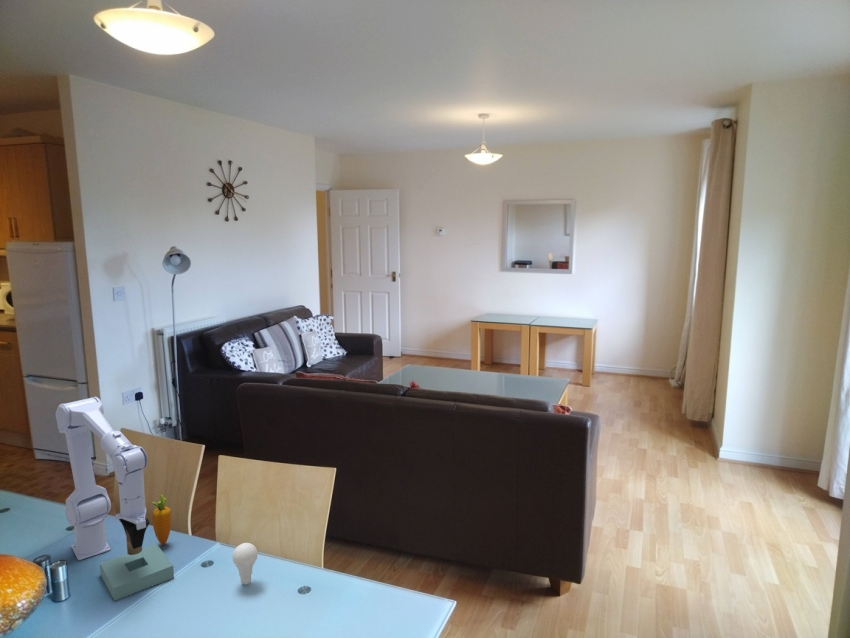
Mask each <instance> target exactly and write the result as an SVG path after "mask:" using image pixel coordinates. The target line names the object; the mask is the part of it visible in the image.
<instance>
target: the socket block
mask: <svg viewBox="0 0 850 638" xmlns="http://www.w3.org/2000/svg"><path fill="white" fill-rule="evenodd" d="M99 570H100V571H99V572H100V573H99V575H100V577H101V578H102V580H103V582H104V584H105V586H106V588H107V590H108V592H109V593H111V594H110V595H111V597H112V599H113V601H114V602H115V600H116V601H118V600H121V599H124V598H126V597H128V595H129V596H132V595H133V593H134V594H136V593H139V592H141V591H144V590H146V589H145V588H147V587H149V588H151V587H150V586H152V585H154V586H156V585H155V584H157V585H159V584H161V583H164V581H165V582H167V581H169V580H172V579H175V577H174V576H175V573H174V571H175V569H174V565H173V563H172V562H171V561H170V559H169V558H168V557H167V555H166V554H165V552H164V551H163V550H162V549H161V548H160V546H159V545H158V544H157V543H155V544H151V545H148V546H145V547H142V551H141V552H140V553H138V554H135V555H129V554H128V553H125V554H122V555H118V556H117V557H116V556H115V557H113V558H110V559H107V560H105V561H102V562H99ZM152 587H153V586H152ZM143 589H144V590H143ZM147 589H148V588H147ZM140 590H141V591H140ZM138 591H139V592H138ZM135 592H136V593H135ZM123 597H124V598H123Z"/></svg>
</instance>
